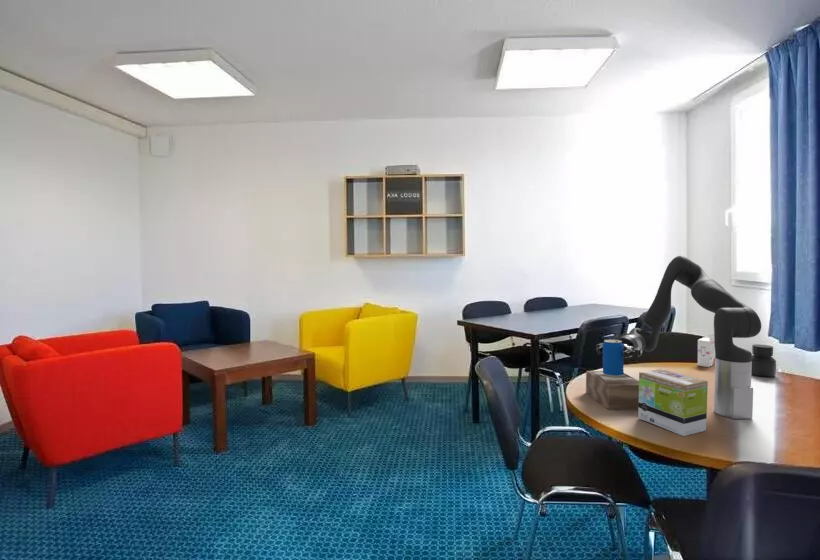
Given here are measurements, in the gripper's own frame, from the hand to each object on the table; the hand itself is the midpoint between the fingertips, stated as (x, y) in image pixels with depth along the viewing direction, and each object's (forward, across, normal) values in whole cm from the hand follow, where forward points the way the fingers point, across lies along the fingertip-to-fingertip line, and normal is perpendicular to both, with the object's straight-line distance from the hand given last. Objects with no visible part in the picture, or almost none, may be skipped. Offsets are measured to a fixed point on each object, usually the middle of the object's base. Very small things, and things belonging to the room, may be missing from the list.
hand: (611, 353), depth 156 cm
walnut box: (-1, +1, +16) cm, 17 cm away
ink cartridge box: (-80, +13, +17) cm, 82 cm away
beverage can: (-2, 0, +8) cm, 9 cm away
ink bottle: (-75, +33, +17) cm, 83 cm away
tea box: (+11, +21, +17) cm, 29 cm away
